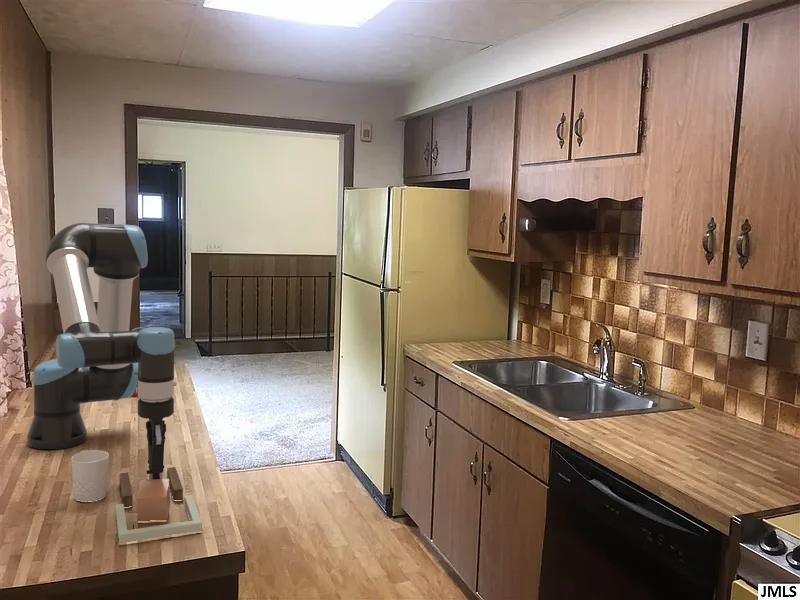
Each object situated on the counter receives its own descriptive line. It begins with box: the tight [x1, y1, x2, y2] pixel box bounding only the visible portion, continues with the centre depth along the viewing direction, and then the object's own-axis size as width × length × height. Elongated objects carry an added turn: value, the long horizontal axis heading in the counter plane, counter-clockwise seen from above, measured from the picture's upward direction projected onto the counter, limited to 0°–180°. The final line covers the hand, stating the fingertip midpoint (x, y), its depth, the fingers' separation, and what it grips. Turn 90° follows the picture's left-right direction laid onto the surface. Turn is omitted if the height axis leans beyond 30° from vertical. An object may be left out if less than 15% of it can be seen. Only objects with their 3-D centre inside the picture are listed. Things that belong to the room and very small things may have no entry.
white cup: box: [70, 449, 110, 502], centre depth 152 cm, size 8×8×10 cm
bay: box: [115, 494, 203, 544], centre depth 142 cm, size 16×15×2 cm
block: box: [136, 478, 171, 522], centre depth 144 cm, size 6×6×7 cm
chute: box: [119, 466, 184, 507], centre depth 157 cm, size 13×14×3 cm
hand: (155, 498), depth 148 cm, fingers closed
